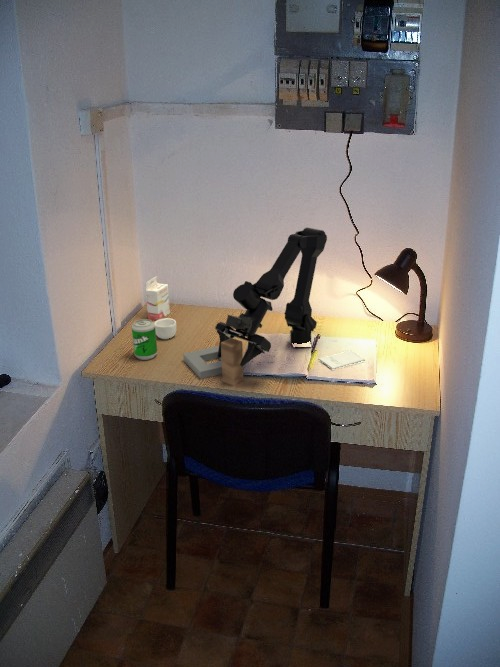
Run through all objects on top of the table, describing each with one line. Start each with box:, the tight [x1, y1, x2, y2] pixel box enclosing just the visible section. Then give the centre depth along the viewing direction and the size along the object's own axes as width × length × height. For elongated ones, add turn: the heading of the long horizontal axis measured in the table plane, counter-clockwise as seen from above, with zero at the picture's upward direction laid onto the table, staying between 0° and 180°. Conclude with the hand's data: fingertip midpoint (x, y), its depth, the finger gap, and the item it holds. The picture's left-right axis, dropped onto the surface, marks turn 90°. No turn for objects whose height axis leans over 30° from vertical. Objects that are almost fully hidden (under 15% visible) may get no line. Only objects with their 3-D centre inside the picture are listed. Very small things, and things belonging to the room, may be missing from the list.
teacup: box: [153, 317, 177, 340], centre depth 230 cm, size 10×8×5 cm
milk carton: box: [145, 275, 171, 321], centre depth 245 cm, size 9×5×15 cm, turn 157°
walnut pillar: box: [221, 338, 244, 387], centre depth 197 cm, size 4×4×13 cm
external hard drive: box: [317, 349, 366, 370], centre depth 210 cm, size 2×8×12 cm
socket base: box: [182, 345, 222, 380], centre depth 209 cm, size 14×14×2 cm
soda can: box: [131, 318, 158, 361], centre depth 214 cm, size 8×8×12 cm
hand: (229, 361), depth 196 cm, fingers open, 9 cm apart
